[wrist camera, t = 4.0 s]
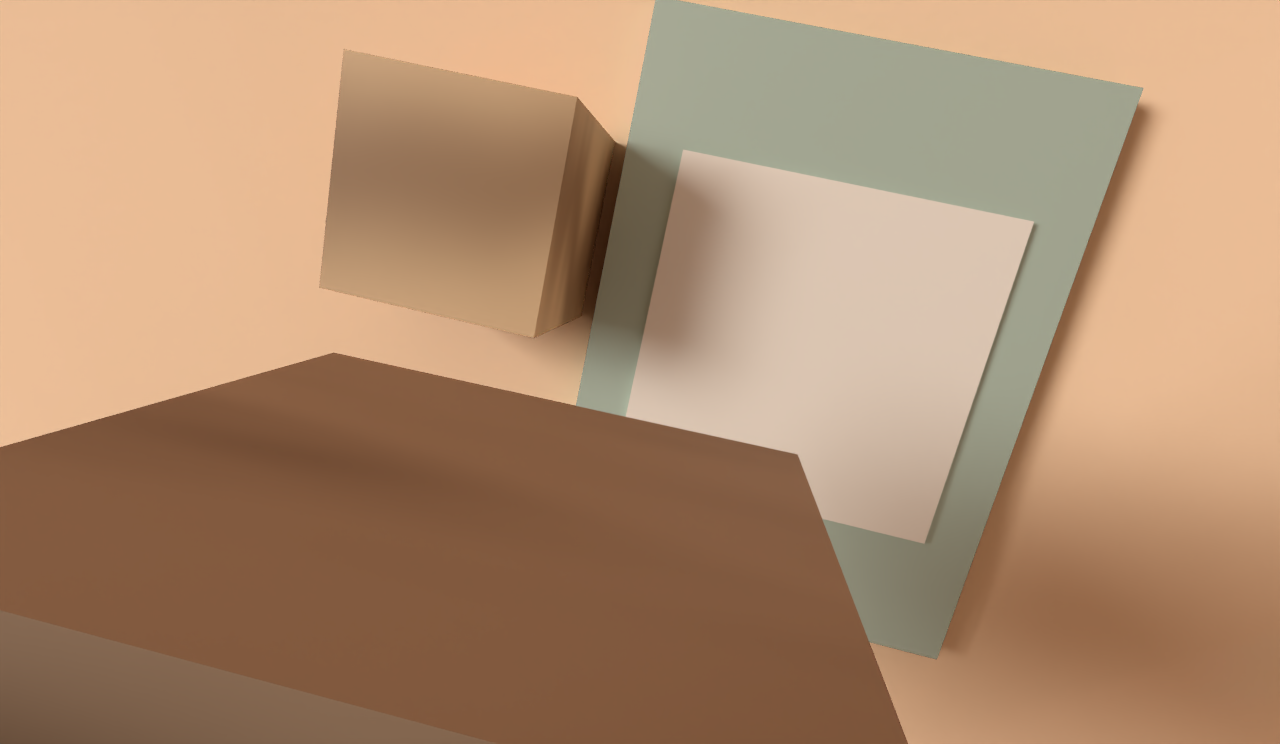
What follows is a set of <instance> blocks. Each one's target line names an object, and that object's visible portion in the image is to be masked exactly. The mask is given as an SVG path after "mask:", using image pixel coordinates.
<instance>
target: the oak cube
mask: <svg viewBox="0 0 1280 744" xmlns="http://www.w3.org/2000/svg"><path fill="white" fill-rule="evenodd" d="M614 145H615V141H614V140H613V139H612V137H611V136H610V135H609V134H608V133H607V132H606V130H605V129H604V128H603V127H602V126H601V125H600V123H599V122H598V121H597V120H596V119H595V117H594V116H593V115H592V114H591V113H590V112H589V110H588V109H587V108H586V107H585V106H584V105H583V103H582V102H581V101H580V100H579V99H578V97H574V96H569V95H565V94H560V93H555V92H550V91H545V90H540V89H535V88H530V87H526V86H521V85H516V84H511V83H506V82H501V81H496V80H491V79H487V78H482V77H477V76H472V75H467V74H462V73H457V72H452V71H448V70H443V69H438V68H433V67H428V66H423V65H418V64H414V63H409V62H404V61H399V60H394V59H389V58H384V57H379V56H375V55H370V54H365V53H360V52H355V51H350V50H345V49H344V51H343V61H342V71H341V81H340V90H339V100H338V110H337V120H336V130H335V139H334V149H333V159H332V169H331V179H330V188H329V198H328V208H327V218H326V228H325V237H324V247H323V257H322V267H321V277H320V286H319V288H323V289H327V290H332V291H336V292H340V293H344V294H349V295H353V296H357V297H361V298H366V299H370V300H374V301H378V302H383V303H387V304H391V305H395V306H400V307H404V308H408V309H412V310H417V311H421V312H425V313H429V314H434V315H438V316H442V317H446V318H451V319H455V320H459V321H463V322H468V323H472V324H476V325H480V326H485V327H489V328H493V329H497V330H502V331H506V332H510V333H514V334H519V335H523V336H527V337H531V338H535V337H537V336H539V335H541V334H544V333H546V332H548V331H550V330H552V329H554V328H556V327H559V326H561V325H563V324H565V323H567V322H569V321H571V320H574V319H576V318H578V317H580V316H581V314H582V309H583V304H584V299H585V294H586V289H587V283H588V278H589V273H590V268H591V263H592V258H593V253H594V248H595V242H596V237H597V232H598V227H599V222H600V217H601V212H602V207H603V201H604V196H605V191H606V186H607V181H608V176H609V171H610V166H611V161H612V155H613V150H614Z"/></svg>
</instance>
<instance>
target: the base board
mask: <svg viewBox="0 0 1280 744" xmlns="http://www.w3.org/2000/svg"><path fill="white" fill-rule="evenodd" d="M1142 91H1143V88H1141V87H1135V86H1130V85H1125V84H1119V83H1114V82H1109V81H1103V80H1098V79H1093V78H1087V77H1082V76H1077V75H1072V74H1066V73H1061V72H1056V71H1050V70H1045V69H1040V68H1034V67H1029V66H1024V65H1018V64H1013V63H1008V62H1002V61H997V60H992V59H987V58H981V57H976V56H971V55H965V54H960V53H955V52H949V51H944V50H939V49H933V48H928V47H923V46H918V45H912V44H907V43H902V42H896V41H891V40H886V39H880V38H875V37H870V36H864V35H859V34H854V33H848V32H843V31H838V30H833V29H827V28H822V27H817V26H811V25H806V24H801V23H795V22H790V21H785V20H779V19H774V18H769V17H764V16H758V15H753V14H748V13H742V12H737V11H732V10H726V9H721V8H716V7H710V6H705V5H700V4H694V3H689V2H684V1H679V0H656V1H655V6H654V11H653V16H652V21H651V26H650V31H649V36H648V41H647V47H646V52H645V57H644V62H643V67H642V72H641V77H640V82H639V87H638V92H637V97H636V103H635V108H634V113H633V118H632V123H631V128H630V133H629V138H628V143H627V148H626V154H625V159H624V164H623V169H622V174H621V179H620V184H619V189H618V194H617V199H616V204H615V210H614V215H613V220H612V225H611V230H610V235H609V240H608V245H607V250H606V255H605V260H604V266H603V271H602V276H601V281H600V286H599V291H598V296H597V301H596V306H595V311H594V317H593V322H592V327H591V332H590V337H589V342H588V347H587V352H586V357H585V362H584V367H583V373H582V378H581V383H580V388H579V393H578V398H577V403H576V406H579V407H584V408H588V409H593V410H597V411H602V412H606V413H611V414H615V415H620V416H625V417H629V418H634V419H638V420H643V421H647V422H652V423H657V424H661V425H666V426H670V427H675V428H679V429H684V430H689V431H693V432H698V433H702V434H707V435H711V436H716V437H720V438H725V439H730V440H734V441H739V442H743V443H748V444H752V445H757V446H762V447H766V448H771V449H775V450H780V451H784V452H789V453H794V454H798V457H799V459H800V462H801V465H802V467H803V470H804V472H805V475H806V478H807V480H808V483H809V486H810V488H811V491H812V493H813V496H814V499H815V501H816V504H817V507H818V509H819V512H820V514H821V517H822V520H823V522H824V525H825V528H826V530H827V533H828V535H829V538H830V541H831V543H832V546H833V548H834V551H835V554H836V556H837V559H838V562H839V564H840V567H841V569H842V572H843V575H844V577H845V580H846V583H847V585H848V588H849V590H850V593H851V596H852V598H853V601H854V604H855V606H856V609H857V611H858V614H859V617H860V619H861V622H862V625H863V627H864V630H865V632H866V635H867V638H868V640H869V642H871V643H875V644H879V645H882V646H886V647H890V648H894V649H898V650H902V651H906V652H910V653H914V654H917V655H921V656H925V657H929V658H933V659H937V658H938V655H939V652H940V650H941V647H942V644H943V641H944V638H945V636H946V633H947V630H948V627H949V625H950V622H951V619H952V616H953V614H954V611H955V608H956V605H957V603H958V600H959V597H960V594H961V591H962V589H963V586H964V583H965V580H966V578H967V575H968V572H969V569H970V567H971V564H972V561H973V558H974V556H975V553H976V550H977V547H978V544H979V542H980V539H981V536H982V533H983V531H984V528H985V525H986V522H987V520H988V517H989V514H990V511H991V509H992V506H993V503H994V500H995V497H996V495H997V492H998V489H999V486H1000V484H1001V481H1002V478H1003V475H1004V473H1005V470H1006V467H1007V464H1008V461H1009V459H1010V456H1011V453H1012V450H1013V448H1014V445H1015V442H1016V439H1017V437H1018V434H1019V431H1020V428H1021V426H1022V423H1023V420H1024V417H1025V414H1026V412H1027V409H1028V406H1029V403H1030V401H1031V398H1032V395H1033V392H1034V390H1035V387H1036V384H1037V381H1038V379H1039V376H1040V373H1041V370H1042V367H1043V365H1044V362H1045V359H1046V356H1047V354H1048V351H1049V348H1050V345H1051V343H1052V340H1053V337H1054V334H1055V331H1056V329H1057V326H1058V323H1059V320H1060V318H1061V315H1062V312H1063V309H1064V307H1065V304H1066V301H1067V298H1068V296H1069V293H1070V290H1071V287H1072V284H1073V282H1074V279H1075V276H1076V273H1077V271H1078V268H1079V265H1080V262H1081V260H1082V257H1083V254H1084V251H1085V249H1086V246H1087V243H1088V240H1089V237H1090V235H1091V232H1092V229H1093V226H1094V224H1095V221H1096V218H1097V215H1098V213H1099V210H1100V207H1101V204H1102V201H1103V199H1104V196H1105V193H1106V190H1107V188H1108V185H1109V182H1110V179H1111V177H1112V174H1113V171H1114V168H1115V166H1116V163H1117V160H1118V157H1119V154H1120V152H1121V149H1122V146H1123V143H1124V141H1125V138H1126V135H1127V132H1128V130H1129V127H1130V124H1131V121H1132V119H1133V116H1134V113H1135V110H1136V107H1137V105H1138V102H1139V99H1140V96H1141V94H1142Z"/></svg>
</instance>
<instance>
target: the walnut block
mask: <svg viewBox="0 0 1280 744" xmlns="http://www.w3.org/2000/svg"><path fill="white" fill-rule="evenodd" d="M0 744H908V743H907V740H906V737H905V735H904V732H903V729H902V727H901V724H900V722H899V719H898V716H897V714H896V711H895V708H894V706H893V703H892V701H891V698H890V695H889V693H888V690H887V687H886V685H885V682H884V680H883V677H882V674H881V672H880V669H879V666H878V664H877V661H876V659H875V656H874V653H873V651H872V648H871V646H870V643H869V640H868V638H867V635H866V632H865V630H864V627H863V625H862V622H861V619H860V617H859V614H858V611H857V609H856V606H855V604H854V601H853V598H852V596H851V593H850V590H849V588H848V585H847V583H846V580H845V577H844V575H843V572H842V569H841V567H840V564H839V562H838V559H837V556H836V554H835V551H834V548H833V546H832V543H831V541H830V538H829V535H828V533H827V530H826V528H825V525H824V522H823V520H822V517H821V514H820V512H819V509H818V507H817V504H816V501H815V499H814V496H813V493H812V491H811V488H810V486H809V483H808V480H807V478H806V475H805V472H804V470H803V467H802V465H801V462H800V459H799V457H798V454H794V453H789V452H784V451H780V450H775V449H771V448H766V447H762V446H757V445H752V444H748V443H743V442H739V441H734V440H730V439H725V438H720V437H716V436H711V435H707V434H702V433H698V432H693V431H689V430H684V429H679V428H675V427H670V426H666V425H661V424H657V423H652V422H647V421H643V420H638V419H634V418H629V417H625V416H620V415H615V414H611V413H606V412H602V411H597V410H593V409H588V408H584V407H579V406H574V405H570V404H565V403H561V402H556V401H552V400H547V399H542V398H538V397H533V396H529V395H524V394H520V393H515V392H510V391H506V390H501V389H497V388H492V387H488V386H483V385H479V384H474V383H469V382H465V381H460V380H456V379H451V378H447V377H442V376H437V375H433V374H428V373H424V372H419V371H415V370H410V369H406V368H401V367H396V366H392V365H387V364H383V363H378V362H374V361H369V360H364V359H360V358H355V357H351V356H346V355H342V354H337V353H331V354H327V355H324V356H320V357H317V358H313V359H310V360H306V361H303V362H299V363H296V364H292V365H289V366H285V367H282V368H278V369H275V370H271V371H268V372H264V373H261V374H257V375H253V376H250V377H246V378H243V379H239V380H236V381H232V382H229V383H225V384H222V385H218V386H215V387H211V388H208V389H204V390H201V391H197V392H194V393H190V394H187V395H183V396H179V397H176V398H172V399H169V400H165V401H162V402H158V403H155V404H151V405H148V406H144V407H141V408H137V409H134V410H130V411H127V412H123V413H120V414H116V415H113V416H109V417H105V418H102V419H98V420H95V421H91V422H88V423H84V424H81V425H77V426H74V427H70V428H67V429H63V430H60V431H56V432H53V433H49V434H46V435H42V436H39V437H35V438H31V439H28V440H24V441H21V442H17V443H14V444H10V445H7V446H3V447H0Z"/></svg>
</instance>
